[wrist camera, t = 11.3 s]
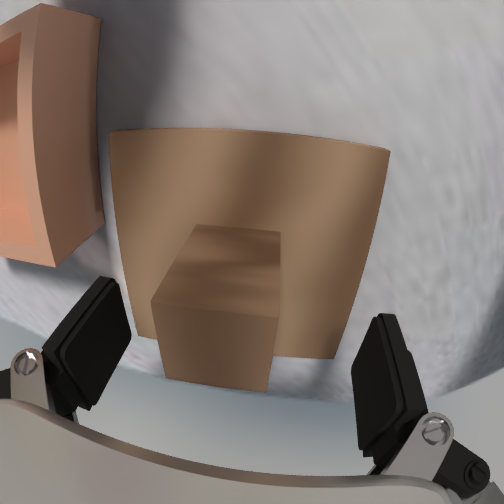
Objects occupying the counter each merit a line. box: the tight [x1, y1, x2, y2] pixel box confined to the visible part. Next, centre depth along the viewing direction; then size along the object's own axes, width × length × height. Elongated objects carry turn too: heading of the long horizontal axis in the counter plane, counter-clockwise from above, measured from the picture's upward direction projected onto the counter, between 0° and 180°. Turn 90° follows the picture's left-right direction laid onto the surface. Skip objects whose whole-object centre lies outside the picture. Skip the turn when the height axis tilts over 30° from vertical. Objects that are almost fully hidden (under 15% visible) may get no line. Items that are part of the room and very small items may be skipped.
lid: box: [109, 128, 390, 392], centre depth 13 cm, size 13×13×7 cm
